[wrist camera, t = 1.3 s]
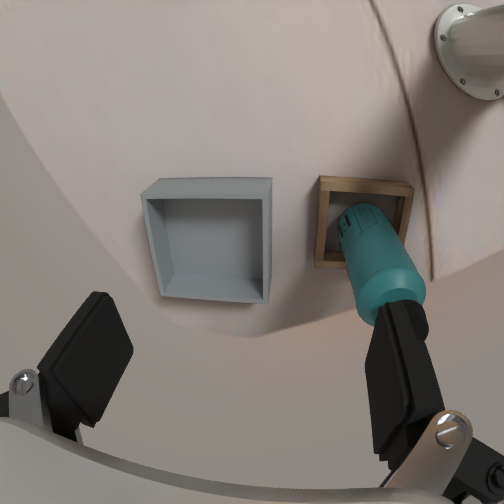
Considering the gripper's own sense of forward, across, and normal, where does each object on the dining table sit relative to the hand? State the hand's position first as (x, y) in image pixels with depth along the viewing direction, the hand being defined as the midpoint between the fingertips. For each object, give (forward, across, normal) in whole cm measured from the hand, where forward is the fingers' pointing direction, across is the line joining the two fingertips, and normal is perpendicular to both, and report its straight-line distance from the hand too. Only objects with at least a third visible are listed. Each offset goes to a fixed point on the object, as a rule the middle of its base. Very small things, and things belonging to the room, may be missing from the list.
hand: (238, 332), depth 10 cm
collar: (+28, -10, +9) cm, 30 cm away
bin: (+27, +8, +10) cm, 30 cm away
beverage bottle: (+28, -10, +9) cm, 31 cm away
